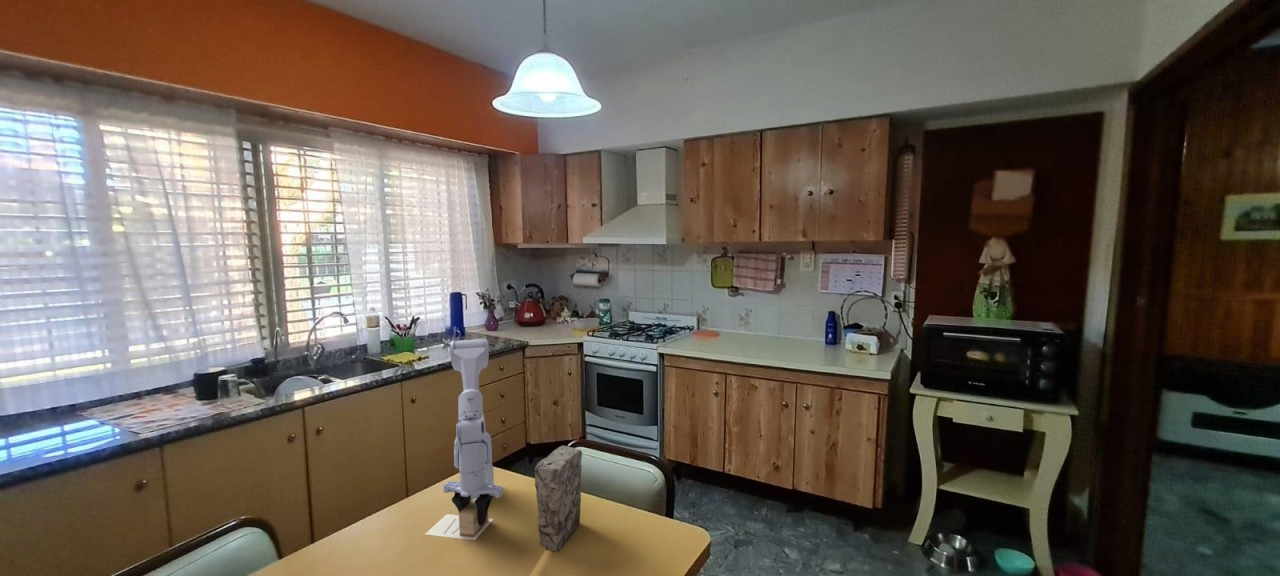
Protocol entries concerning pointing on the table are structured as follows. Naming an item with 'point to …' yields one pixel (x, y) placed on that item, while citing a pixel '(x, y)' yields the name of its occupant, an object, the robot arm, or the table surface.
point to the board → (452, 528)
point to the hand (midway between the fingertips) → (474, 522)
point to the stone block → (558, 496)
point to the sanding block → (470, 520)
